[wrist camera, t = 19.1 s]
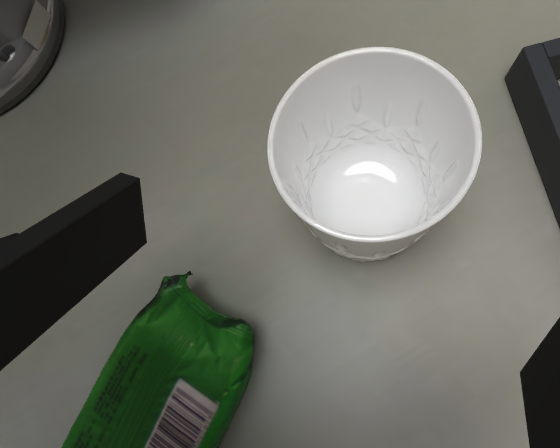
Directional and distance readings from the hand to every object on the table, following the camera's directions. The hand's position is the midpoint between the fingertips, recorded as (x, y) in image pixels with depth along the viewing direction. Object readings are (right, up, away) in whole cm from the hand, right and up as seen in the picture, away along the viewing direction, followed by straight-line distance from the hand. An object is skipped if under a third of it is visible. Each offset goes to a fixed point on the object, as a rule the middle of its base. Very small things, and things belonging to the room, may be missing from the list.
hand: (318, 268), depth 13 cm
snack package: (-7, -10, +12) cm, 17 cm away
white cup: (+4, +2, +12) cm, 13 cm away
